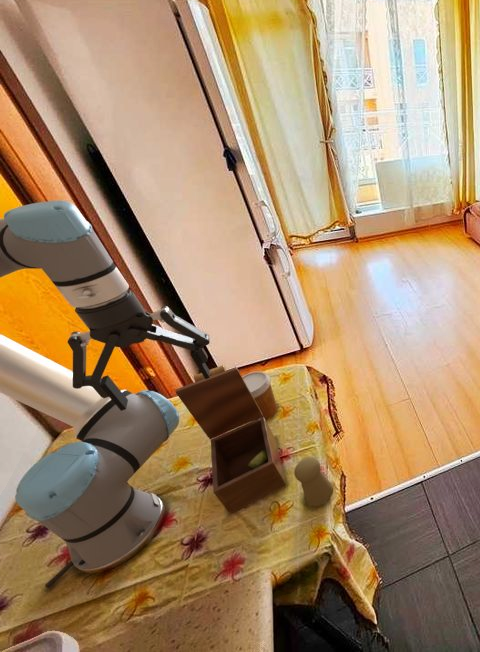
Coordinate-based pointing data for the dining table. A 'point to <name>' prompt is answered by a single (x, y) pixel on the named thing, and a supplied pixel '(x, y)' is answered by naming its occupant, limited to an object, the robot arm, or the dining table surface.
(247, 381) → the disposable coffee cup
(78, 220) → the robot arm
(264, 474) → the box
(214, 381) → the lid
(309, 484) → the tan rounded upright piece
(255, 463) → the lime
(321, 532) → the dining table surface
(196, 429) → the dining table surface
